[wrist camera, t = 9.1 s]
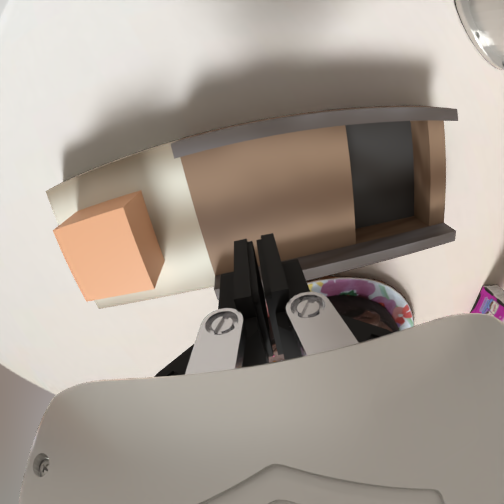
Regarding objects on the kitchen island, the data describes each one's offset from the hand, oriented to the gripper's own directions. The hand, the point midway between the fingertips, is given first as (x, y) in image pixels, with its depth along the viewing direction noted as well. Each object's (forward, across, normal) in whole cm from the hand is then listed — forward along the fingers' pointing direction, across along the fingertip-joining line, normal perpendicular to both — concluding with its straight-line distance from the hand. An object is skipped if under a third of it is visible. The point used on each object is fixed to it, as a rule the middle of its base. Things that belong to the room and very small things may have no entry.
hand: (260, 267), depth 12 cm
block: (+9, +11, 0) cm, 14 cm away
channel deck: (+12, -1, +1) cm, 12 cm away
